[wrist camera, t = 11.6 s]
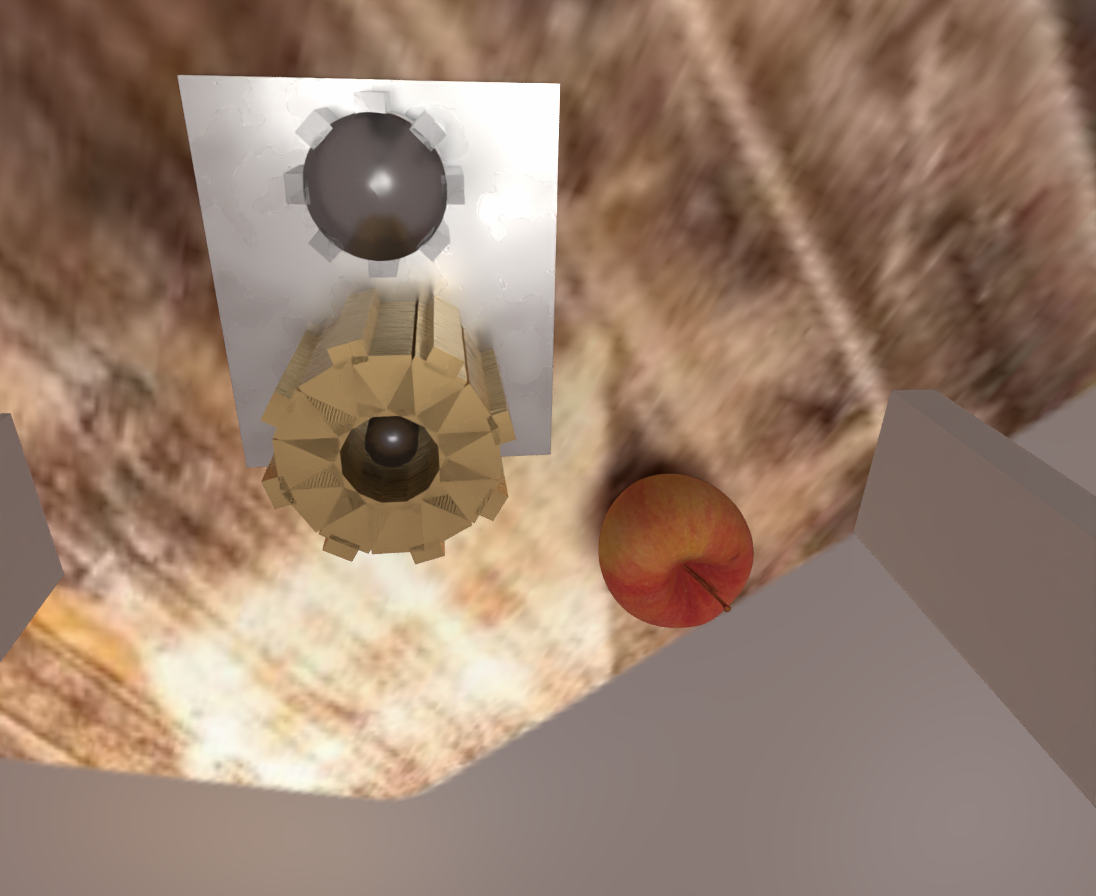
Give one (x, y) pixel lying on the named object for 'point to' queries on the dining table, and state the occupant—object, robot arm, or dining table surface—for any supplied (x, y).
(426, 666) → the dining table surface
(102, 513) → the dining table surface
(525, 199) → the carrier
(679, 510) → the apple
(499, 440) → the gear
